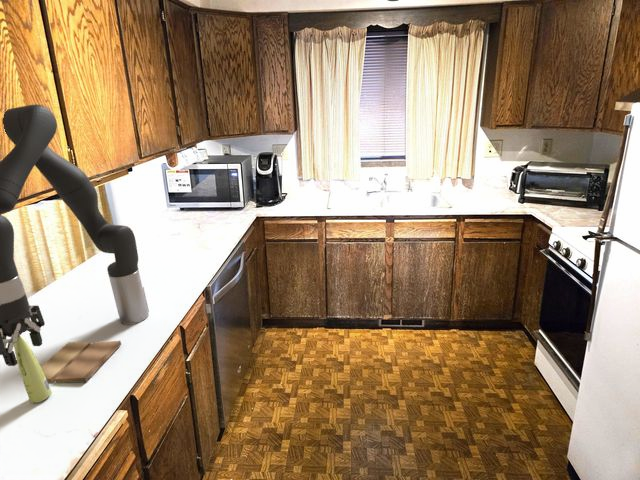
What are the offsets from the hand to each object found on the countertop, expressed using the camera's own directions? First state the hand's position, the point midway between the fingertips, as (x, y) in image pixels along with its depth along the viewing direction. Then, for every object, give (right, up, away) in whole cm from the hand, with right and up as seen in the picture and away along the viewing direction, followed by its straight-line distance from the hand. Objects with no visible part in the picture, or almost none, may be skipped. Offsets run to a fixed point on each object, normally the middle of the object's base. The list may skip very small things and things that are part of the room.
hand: (25, 355), depth 110 cm
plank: (+7, -7, +18) cm, 20 cm away
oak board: (-2, -7, +19) cm, 20 cm away
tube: (+1, -12, +4) cm, 13 cm away
